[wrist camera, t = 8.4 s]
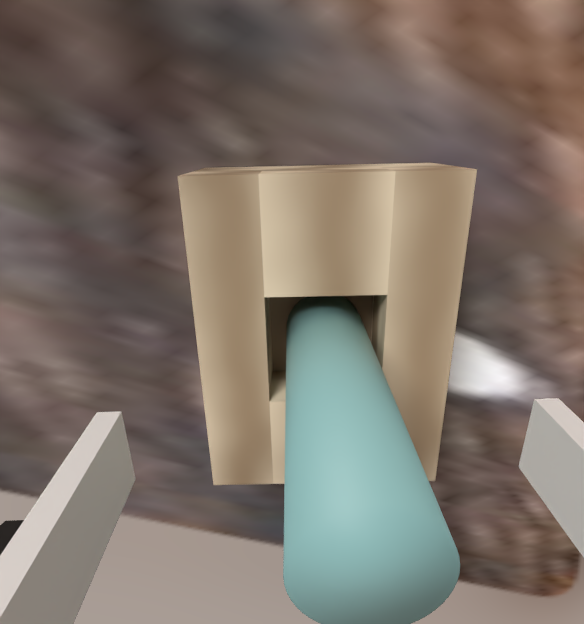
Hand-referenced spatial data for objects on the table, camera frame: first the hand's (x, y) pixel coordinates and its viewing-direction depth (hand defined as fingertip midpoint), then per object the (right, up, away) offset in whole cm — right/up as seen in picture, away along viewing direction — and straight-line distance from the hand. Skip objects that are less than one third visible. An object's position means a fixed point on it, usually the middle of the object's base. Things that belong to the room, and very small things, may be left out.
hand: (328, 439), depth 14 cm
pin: (+1, +3, +9) cm, 10 cm away
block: (0, +5, +12) cm, 13 cm away
